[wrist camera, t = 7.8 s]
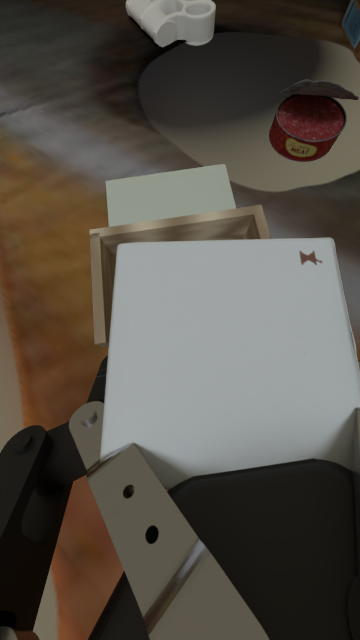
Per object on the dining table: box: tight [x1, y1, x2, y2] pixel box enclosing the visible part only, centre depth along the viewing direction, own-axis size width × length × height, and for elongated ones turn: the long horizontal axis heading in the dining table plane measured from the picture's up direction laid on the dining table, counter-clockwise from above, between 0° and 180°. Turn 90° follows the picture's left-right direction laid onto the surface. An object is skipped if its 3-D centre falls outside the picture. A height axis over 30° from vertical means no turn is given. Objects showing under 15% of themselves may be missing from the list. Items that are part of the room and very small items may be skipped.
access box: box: [90, 205, 271, 348], centre depth 23 cm, size 18×12×7 cm, turn 98°
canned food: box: [269, 79, 358, 162], centre depth 30 cm, size 11×10×10 cm
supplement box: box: [100, 237, 360, 489], centre depth 12 cm, size 7×7×13 cm
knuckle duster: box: [126, 0, 216, 47], centre depth 40 cm, size 3×18×15 cm
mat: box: [106, 164, 236, 227], centre depth 30 cm, size 18×12×1 cm, turn 98°
